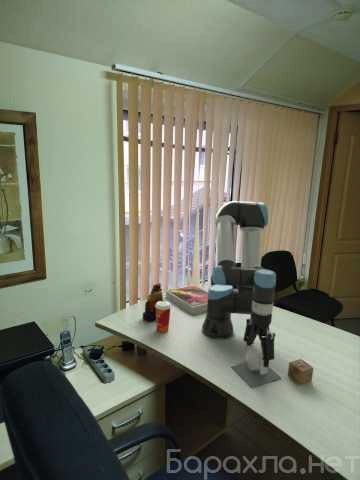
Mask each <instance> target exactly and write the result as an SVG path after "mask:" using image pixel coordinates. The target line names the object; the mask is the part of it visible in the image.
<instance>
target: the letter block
mask: <svg viewBox="0 0 360 480" xmlns="http://www.w3.org/2000/svg"><path fill="white" fill-rule="evenodd" d="M313 374H314V367H313V366H312V365H310V364H309V363H308V362H306V361H305V360H303V359H302V358H299V359H296V360H292V361H289V362H288V370H287V377H288V378H289V379H291V381H293V382H294V383H295V384H297V385H298V386H299V387H300V386H301V387H302V386H304V385H306V384H309V383H312V382H313V381H312V380H313V376H314V375H313Z"/></svg>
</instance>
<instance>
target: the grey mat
mask: <svg viewBox="0 0 360 480" xmlns="http://www.w3.org/2000/svg"><path fill="white" fill-rule="evenodd" d="M230 368H231V369H232V370H233V371H234V372H235V373H236V374H237V375H238V376H239V377H240V379H242V380H243V381H244V382H245V383H246V384H247V386H249V388H251V389H253V388H257V387H259V386H262V385H265V384H269V383H272V382H276V381H278V380H279V381H280V380H281V379H282V377H281V376H280V375H279V374H278V373H277V372H276V371H274V370H273V369H272V368H271V367H270V366H268V368H267V373H265V374H262V375H261V374H260V371H253V370H250V369H249V366H248V364H247V361H245V362H241V363H238V364H237V363H236V364H234V365H231V366H230Z"/></svg>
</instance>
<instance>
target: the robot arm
mask: <svg viewBox="0 0 360 480" xmlns="http://www.w3.org/2000/svg"><path fill="white" fill-rule="evenodd" d="M214 222H215V227H216V228H217V265H214V266H213V267H212V283H213V285H212V286H210V287H209V288H208V291H207V292H208V296H207V298H208V302H207V311H206V315H205V318H204V321H203V323H202V327H201V331H202V334H204V335H205V336H206V337H209V338H211V339H215V340H226V339H229V338H231V337H232V336H233V335H234V325H233V322H232V317H231V316H232V314H235V315H237V314H239V315H250V318H246V319H245V320H246V325H245V330H244V334H243V338H242V339H243V342H245V344H246V354H247V353H248V351H249V349H250V348H255V343H254V342H255V340H256V338H257V336H258V339H259V341H260V345H261V349H262V353H263V357H262V358H261V367H260V374H261V375H262V374H265V373H267V368H268V366H269V365H270V361H272V360H275V338H276V333H275V332H271V330H270V325H271V323H272V318H273V310H274V298H275V290H276V285H277V274H276V272H275V271H273V270H270V269H266V268H264V267H262V266H260V260H261V257H260V256H261V254H260V253H261V233H262V232H263V231H264V230H265V227H267V226H268V224H269V212H268V207H267V205H266V203H264V202H261V201H240V200H239V201H238V200H232V201H229V202H227V203H225V204H224V205H222V206H221V207H220V208H219V210H218V211H217V213H216V215H215V220H214ZM236 226H239V230H240V231H241V233H242V236H241V240H242V241H241V257H240V258H241V262H240V264H241V265H240V267H239V266H238V267H237V262H236V243H235V229H234V228H235V227H236ZM233 286H234V287H236V288H234V287H233ZM269 367H270V366H269Z"/></svg>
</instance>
